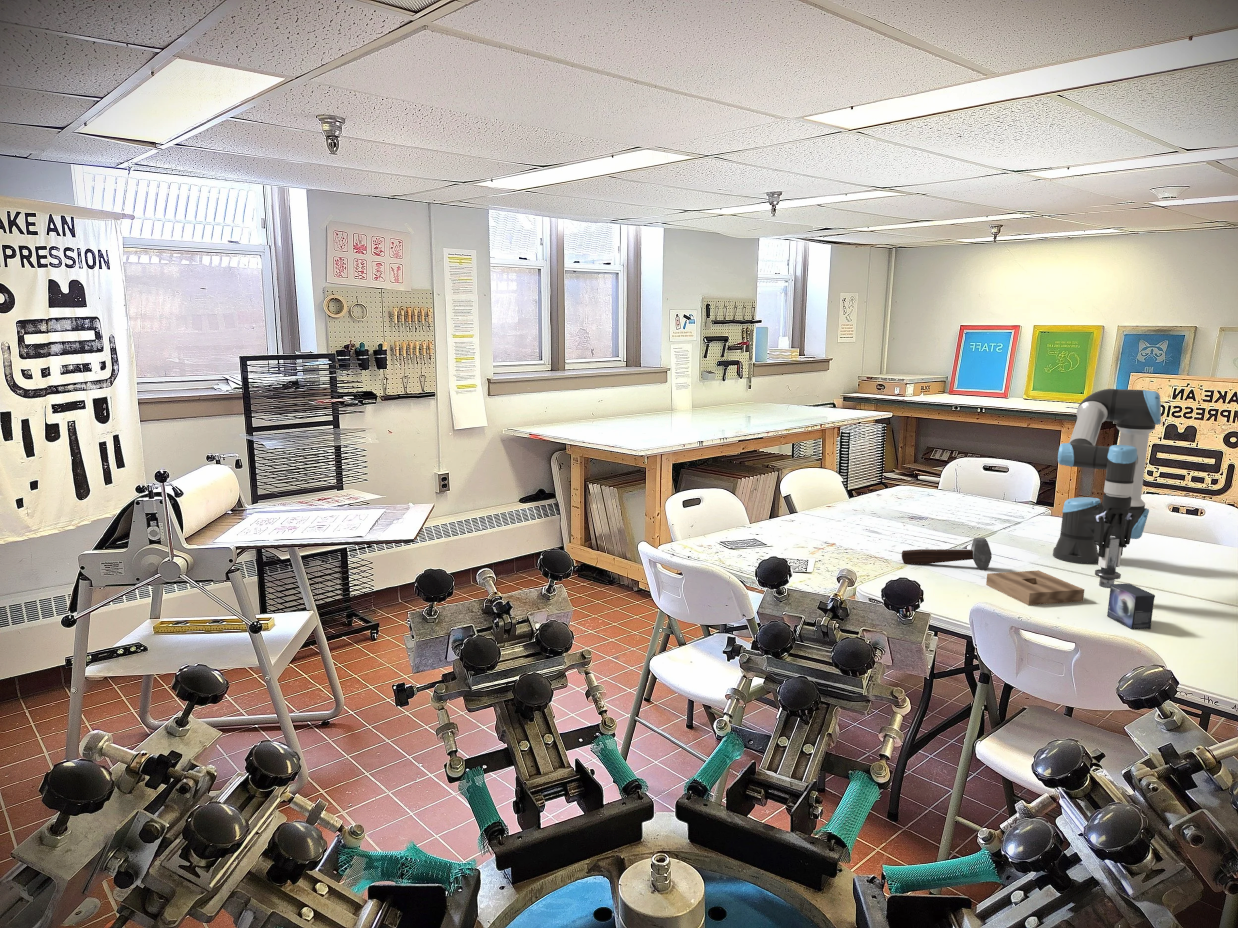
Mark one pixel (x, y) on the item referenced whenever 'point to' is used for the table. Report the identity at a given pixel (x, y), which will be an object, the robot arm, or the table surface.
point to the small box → (1130, 606)
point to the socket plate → (1035, 587)
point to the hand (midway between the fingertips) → (1108, 566)
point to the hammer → (951, 555)
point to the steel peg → (1109, 565)
